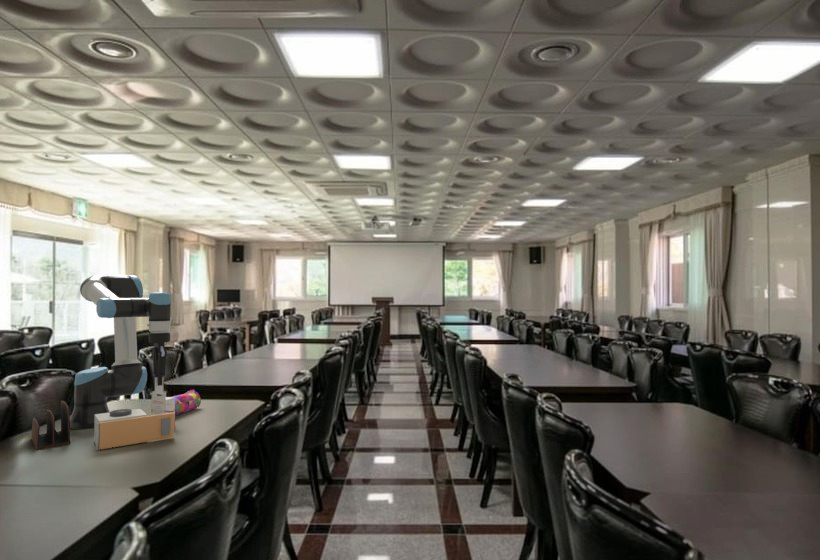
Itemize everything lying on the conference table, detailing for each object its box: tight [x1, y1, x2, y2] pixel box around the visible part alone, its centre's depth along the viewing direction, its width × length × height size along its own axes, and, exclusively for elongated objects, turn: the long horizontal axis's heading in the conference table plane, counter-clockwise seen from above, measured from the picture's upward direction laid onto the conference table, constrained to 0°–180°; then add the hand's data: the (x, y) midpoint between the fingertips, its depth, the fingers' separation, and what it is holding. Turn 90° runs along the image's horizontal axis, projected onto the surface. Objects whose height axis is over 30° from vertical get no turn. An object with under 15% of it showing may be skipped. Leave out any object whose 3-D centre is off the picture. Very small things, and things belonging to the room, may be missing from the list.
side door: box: [95, 412, 175, 451], centre depth 178 cm, size 2×25×9 cm, turn 129°
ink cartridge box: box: [150, 390, 176, 425], centre depth 204 cm, size 9×5×15 cm, turn 68°
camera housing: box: [93, 408, 148, 450], centre depth 182 cm, size 13×15×11 cm
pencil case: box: [171, 389, 202, 416], centre depth 229 cm, size 22×9×9 cm, turn 174°
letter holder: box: [31, 400, 71, 451], centre depth 183 cm, size 10×20×14 cm, turn 42°
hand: (158, 393), depth 189 cm, fingers closed
